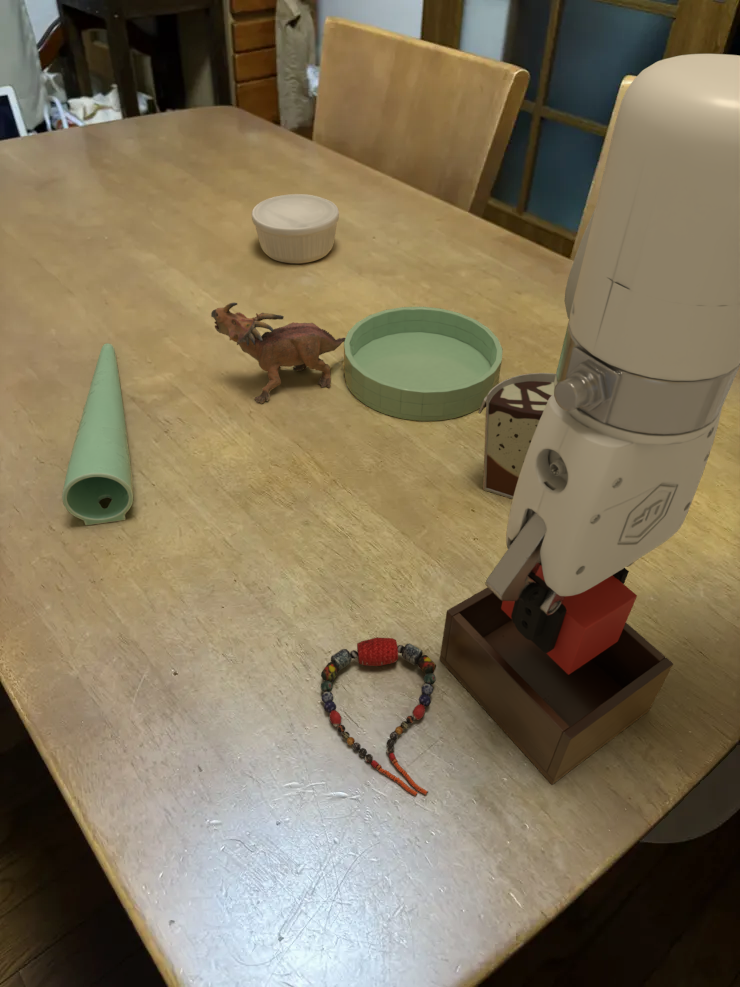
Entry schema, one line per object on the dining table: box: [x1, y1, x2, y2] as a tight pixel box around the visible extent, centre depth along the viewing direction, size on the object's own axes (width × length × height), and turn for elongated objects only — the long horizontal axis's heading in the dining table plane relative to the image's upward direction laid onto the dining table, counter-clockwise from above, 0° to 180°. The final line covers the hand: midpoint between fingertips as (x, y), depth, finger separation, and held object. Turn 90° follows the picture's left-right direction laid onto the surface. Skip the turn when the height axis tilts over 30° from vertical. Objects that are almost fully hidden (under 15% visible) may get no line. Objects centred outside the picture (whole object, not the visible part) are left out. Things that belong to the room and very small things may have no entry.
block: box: [501, 565, 638, 675], centre depth 46 cm, size 6×4×4 cm
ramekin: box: [251, 193, 340, 264], centre depth 99 cm, size 11×11×5 cm
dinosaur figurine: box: [210, 302, 346, 404], centre depth 75 cm, size 14×6×9 cm, turn 110°
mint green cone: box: [61, 342, 134, 526], centre depth 70 cm, size 5×6×27 cm
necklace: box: [320, 637, 437, 797], centre depth 49 cm, size 8×11×2 cm
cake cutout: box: [478, 372, 556, 500], centre depth 64 cm, size 12×6×10 cm, turn 65°
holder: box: [439, 586, 674, 785], centre depth 50 cm, size 11×9×6 cm
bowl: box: [343, 306, 504, 422], centre depth 78 cm, size 16×16×4 cm
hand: (562, 614), depth 47 cm, fingers closed on block, 4 cm apart
